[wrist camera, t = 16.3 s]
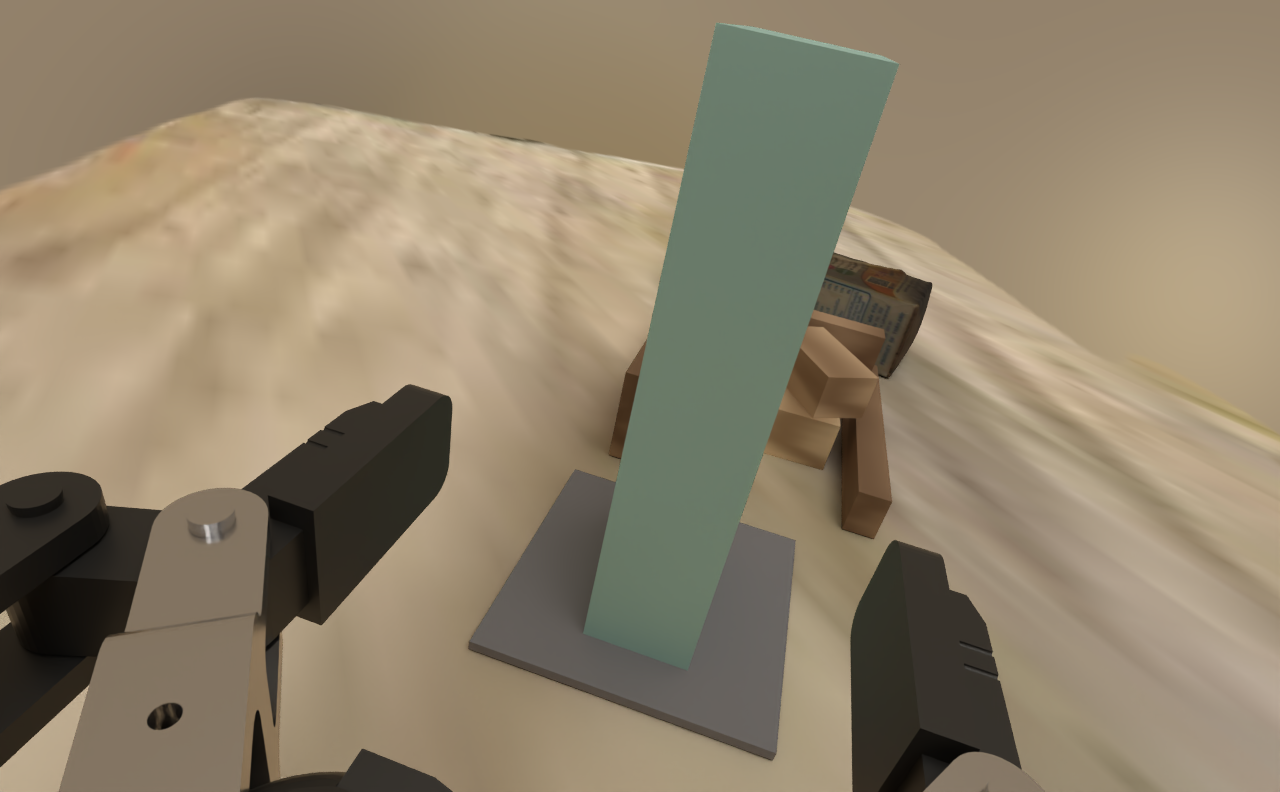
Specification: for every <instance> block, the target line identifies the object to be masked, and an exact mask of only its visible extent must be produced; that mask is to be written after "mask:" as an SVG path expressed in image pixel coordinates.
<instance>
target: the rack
mask: <svg viewBox="0 0 1280 792" xmlns="http://www.w3.org/2000/svg"><path fill="white" fill-rule="evenodd" d="M808 326H810V327H824V328H825V329H826V330H827V331H828V332H829V333H830V334H831V335H832V336H834V337H835V338H836V339H837V340H838V341H839V342H840V343H841V344H842V345H843V346H844V347H845V348H847V349H848V350H849V351H850V352H851V353H852V354H853V355H854V356H855V357H856V358H857V359H858V360H860V361H861V362H862V363H863V364H864V365H865V366H866V367H867V368H868V369H869V370H870V371H871V372H873V373H874V374H875V375H876V376H877V377H878V369H877V366H876V365H875V362H876V360H877V358H878V355H879V353H880V350H881V348H882V346H883V343H884V341H885V333H884V329H881V328H877V327H874V326H870V325H867V324H863V323H859V322H856V321H852V320H848V319H845V318H841V317H838V316H834V315H830V314H827V313H823V312H820V311H816V310H813V313H812V315H811V318H810V321H809V324H808ZM646 343H647V340H646V342H645V343H644V345H643V346H642V348H641V350H640V351H639V353H638V354H637V356H636V357H635V359H634V360H633V362H632V364H631V365H630V367H629V368H628V370H627V371H626V375H625V379H624V384H623V389H622V394H621V399H620V404H619V409H618V413H617V418H616V423H615V428H614V433H613V438H612V443H611V447H610V452H609V455H611V456H614V457H617V458H621V457H622V453H623V448H624V444H625V439H626V434H627V430H628V425H629V421H630V416H631V411H632V407H633V402H634V398H635V393H636V389H637V384H638V379H639V375H640V370H641V366H642V361H643V356H644V352H645V347H646ZM891 503H892V497H891V487H890V478H889V469H888V460H887V451H886V442H885V433H884V424H883V414H882V405H881V396H880V387H879V379H878V382H877V384H876V386H875V389H874V391H873V393H872V396H871V398H870V400H869V403H868V405H867V407H866V409H865V412H864V414H863V416H862V418H842V529H844V530H847V531H850V532H854V533H857V534H860V535H863V536H866V537H869V538H873V539H874V538H875V536H876V534H877V532H878V529H879V527H880V525H881V523H882V521H883V519H884V517H885V515H886V513H887V511H888V509H889V507H890V505H891Z"/></svg>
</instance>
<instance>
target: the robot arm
mask: <svg viewBox="0 0 1280 792" xmlns="http://www.w3.org/2000/svg"><path fill="white" fill-rule="evenodd" d="M451 421H452V401H451V399H450V397H449V396H446V395H443V394H440V393H437V392H434V391H430V390H427V389H424V388H421V387H418V386H415V385H411V384H409V385H406V386H404V387H403V388H402V389H400V390H399V391H398V392H397V393H395V394H394V395H393V396H392V397H390V398H389V399H388V400H387V401H385V402H384V403H383V404H381V403H378V402H375V401H373V402H370V403H367V404H364V405H362V406H359V407H356V408H353V409H350V410H348V411H345V412H344V413H342V414H341V415H340V416H338V417H337V418H336V419H334V420H333V421H332V422H330V423H329V424H328V425H326V426H325V428H324V430H320V431H318V432H317V433H316V434H314V435H313V436H312V437H310V438H309V439H308V441H307V443H306V444H305V443H302V444H301V445H300V446H298V447H297V448H296V449H294V450H293V451H292V452H290V453H289V454H288V455H286V456H285V457H284V458H282V459H281V460H280V461H278V462H277V463H276V464H274V465H273V466H272V467H270V468H269V469H268V470H266V471H265V472H264V473H262V474H261V475H260V476H258V477H257V478H256V479H254V480H253V481H252V482H250V483H249V484H248V485H246V486H245V487H244V488H242V489H236V488H215V489H208V490H203V491H199V492H195V493H192V494H189V495H187V496H184V497H182V498H180V499H178V500H176V501H174V502H173V503H171V504H170V505H168V506H167V507H166V508H164V509H163V510H151V509H139V508H127V507H115V506H106V504H105V500H104V497H103V493H102V489H101V487H100V485H99V484H98V483H97V481H95V480H94V479H92V478H91V477H88V476H86V475H83V474H79V473H73V472H47V473H40V474H34V475H29V476H25V477H21V478H18V479H15V480H12V481H9V482H7V483H5V484H2V485H0V614H1V613H2V612H3V611H5V610H6V611H7V613H8V616H9V618H10V621H11V622H10V623H9V624H8V625H6V626H5V627H4V628H3V629H1V630H0V767H1V766H2V765H3V764H4V763H6V762H7V761H8V760H9V759H10V758H11V757H12V756H13V755H14V754H15V753H16V752H17V751H18V750H19V749H21V748H22V747H23V746H24V745H25V744H26V743H27V742H28V741H29V740H30V739H31V738H32V737H33V736H35V735H36V734H37V733H38V732H39V731H40V730H41V729H42V728H43V727H44V726H45V725H46V724H47V723H49V722H50V721H51V720H52V719H53V718H54V717H55V716H56V715H57V714H58V713H59V712H60V711H61V710H62V709H64V708H65V707H66V706H67V705H68V704H69V703H70V702H71V701H72V700H73V699H74V698H75V697H76V696H78V695H79V694H80V693H81V692H82V691H83V690H84V689H85V688H86V687H87V686H88V685H89V684H90V685H89V688H88V692H87V695H86V699H85V702H84V706H83V709H82V713H81V716H80V720H79V723H78V727H77V730H76V733H75V737H74V740H73V744H72V747H71V751H70V754H69V758H68V761H67V765H66V768H65V772H64V775H63V779H62V782H61V786H60V789H59V792H452V791H451V790H450V789H449V788H447V787H446V786H445V785H444V784H442V783H441V782H440V781H439V780H437V779H436V778H435V777H432V776H430V775H427V774H425V773H422V772H420V771H417V770H415V769H412V768H410V767H407V766H405V765H402V764H400V763H397V762H395V761H392V760H390V759H387V758H385V757H382V756H380V755H377V754H375V753H372V752H370V751H367V750H365V749H362V750H361V751H360V753H359V754H358V756H357V757H356V759H355V760H354V761H353V763H352V764H351V766H350V767H349V769H348V770H347V772H317V773H309V774H302V775H296V776H291V777H287V778H283V779H280V765H279V729H280V703H281V676H282V650H283V638H282V631H283V629H284V628H285V627H286V626H287V625H288V624H289V623H290V622H291V621H292V620H293V619H294V618H295V617H296V616H298V617H300V618H303V619H306V620H308V621H311V622H314V623H316V624H319V625H322V624H323V623H324V622H325V621H326V620H327V619H328V618H329V616H330V615H331V614H332V613H333V612H334V611H335V610H336V609H337V607H338V606H339V605H340V604H341V603H342V602H343V601H344V599H345V598H346V597H347V596H348V595H349V594H350V593H351V592H352V590H353V589H354V588H355V587H356V586H357V585H358V584H359V583H360V581H361V580H362V579H363V578H364V577H365V576H366V575H367V574H368V572H369V571H370V570H371V569H372V568H373V567H374V566H375V565H376V563H377V562H378V561H379V560H380V559H381V558H382V557H383V556H384V554H385V553H386V552H387V551H388V550H389V549H390V548H391V547H392V545H393V544H394V543H395V542H396V541H397V540H398V539H399V538H400V536H401V535H402V534H403V533H404V532H405V531H406V530H407V529H408V527H409V526H410V525H411V524H412V523H413V522H414V521H415V520H416V518H417V517H418V516H419V515H420V514H421V513H422V512H423V511H424V509H425V508H426V507H427V506H428V505H429V504H430V503H431V502H432V500H433V499H434V498H435V497H436V496H437V494H438V493H439V491H440V489H441V488H442V485H443V483H444V481H445V478H446V475H447V472H448V467H449V454H450V438H451ZM992 652H993V651H992V647H991V643H990V639H989V635H988V631H987V627H986V623H985V622H984V620H983V619H982V617H981V616H980V614H979V613H978V611H977V610H976V608H975V607H974V605H973V604H972V602H971V601H970V600H969V598H968V597H967V595H964V594H961V593H958V592H955V591H952V590H949V585H948V580H947V575H946V569H945V564H944V560H943V557H942V556H941V555H940V554H937V553H934V552H931V551H928V550H925V549H922V548H918V547H915V546H912V545H909V544H906V543H903V542H900V541H897V540H894V541H892V542H891V543H890V545H889V546H888V548H887V549H886V551H885V553H884V555H883V557H882V559H881V561H880V563H879V565H878V567H877V569H876V571H875V573H874V575H873V577H872V579H871V581H870V583H869V585H868V587H867V589H866V590H865V592H864V594H863V596H862V598H861V600H860V602H859V605H858V607H857V610H856V613H855V616H854V620H853V624H852V630H851V712H852V785H853V792H1045V791H1044V790H1043V789H1042V788H1041V787H1040V786H1039V785H1038V784H1037V783H1036V782H1035V781H1034V780H1033V779H1032V778H1031V777H1030V776H1029V775H1027V774H1026V773H1025V772H1024V771H1023V770H1022V769H1021V765H1020V761H1019V757H1018V753H1017V749H1016V745H1015V741H1014V737H1013V732H1012V728H1011V724H1010V720H1009V716H1008V712H1007V708H1006V704H1005V700H1004V696H1003V692H1002V688H1001V684H1000V681H999V680H997V677H998V671H997V667H996V663H995V659H994V657H992Z"/></svg>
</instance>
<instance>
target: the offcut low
mask: <svg viewBox="0 0 1280 792" xmlns="http://www.w3.org/2000/svg"><path fill="white" fill-rule="evenodd" d="M839 429H840V418H812V417H811V416H810V414H809V413H808V412H807V411H806V410H805V409H804V407H803V406H802V405H801V404H800V403H799V402H798V400H797V399H796V398H795V397H794V396H793V395H792V393H791V392H790V391H789V390H788V389H787V388H786V390H785V393H784V396H783V398H782V401H781V404H780V407H779V410H778V413H777V416H776V418H775V421H774V424H773V427H772V430H771V433H770V436H769V439H768V441H767V444H766V447H765V450H764V453H765V454H768V455H772V456H775V457H779V458H782V459H786V460H789V461H793V462H796V463H800V464H803V465H807V466H810V467H814V468H817V469H821V470H823V468H824V466H825V463H826V461H827V458H828V456H829V453H830V451H831V449H832V446H833V444H834V441H835V439H836V436H837V434H838V432H839Z"/></svg>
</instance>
